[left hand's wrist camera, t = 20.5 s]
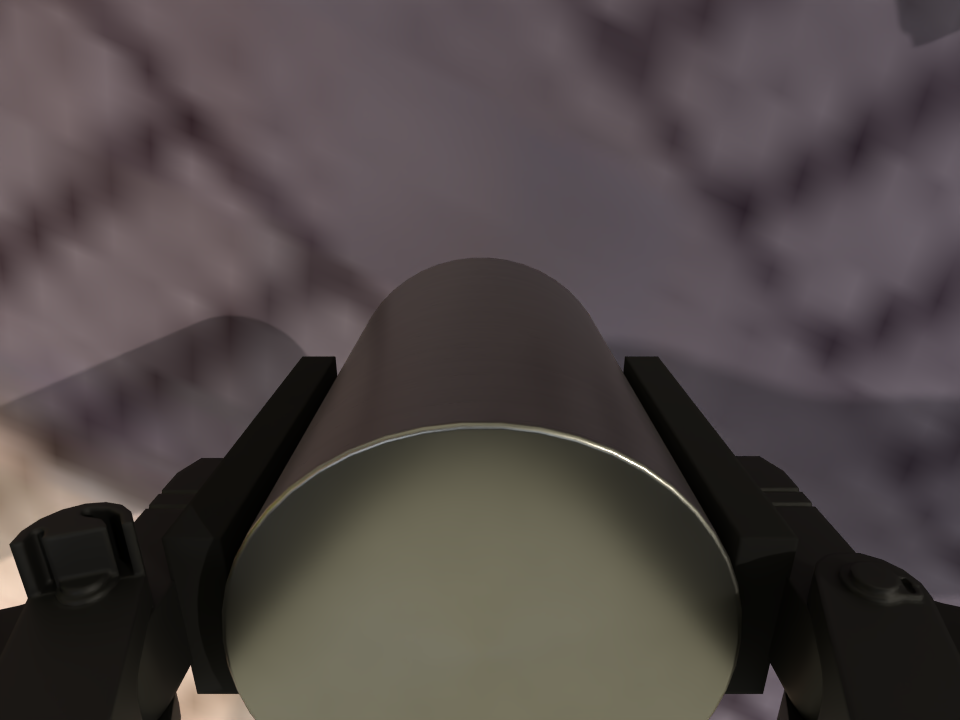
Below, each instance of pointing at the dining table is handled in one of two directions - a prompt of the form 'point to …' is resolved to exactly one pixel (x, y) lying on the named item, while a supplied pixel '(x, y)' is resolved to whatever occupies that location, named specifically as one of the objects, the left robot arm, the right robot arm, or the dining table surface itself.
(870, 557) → the left robot arm
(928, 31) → the dining table surface
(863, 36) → the dining table surface
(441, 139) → the dining table surface
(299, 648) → the canister
